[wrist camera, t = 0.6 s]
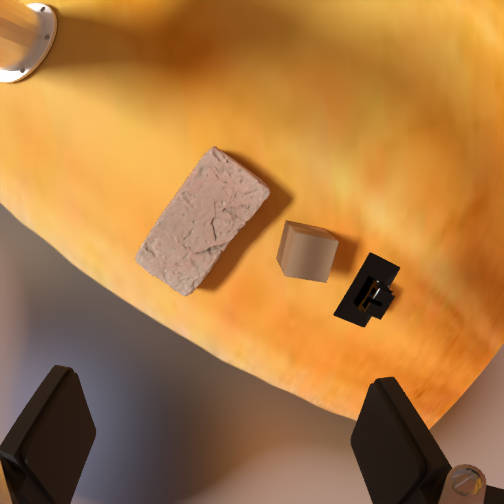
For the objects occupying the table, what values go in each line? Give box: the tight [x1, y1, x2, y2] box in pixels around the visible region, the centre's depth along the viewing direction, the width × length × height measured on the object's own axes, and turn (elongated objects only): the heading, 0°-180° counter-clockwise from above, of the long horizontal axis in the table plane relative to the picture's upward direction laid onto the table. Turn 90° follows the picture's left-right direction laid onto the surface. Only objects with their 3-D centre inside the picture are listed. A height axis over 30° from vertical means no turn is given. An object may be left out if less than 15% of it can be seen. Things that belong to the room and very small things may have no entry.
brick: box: [135, 146, 270, 296], centre depth 36 cm, size 16×8×5 cm, turn 142°
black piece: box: [333, 252, 400, 327], centre depth 42 cm, size 13×8×5 cm, turn 154°
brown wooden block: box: [277, 220, 339, 283], centre depth 37 cm, size 5×5×6 cm
